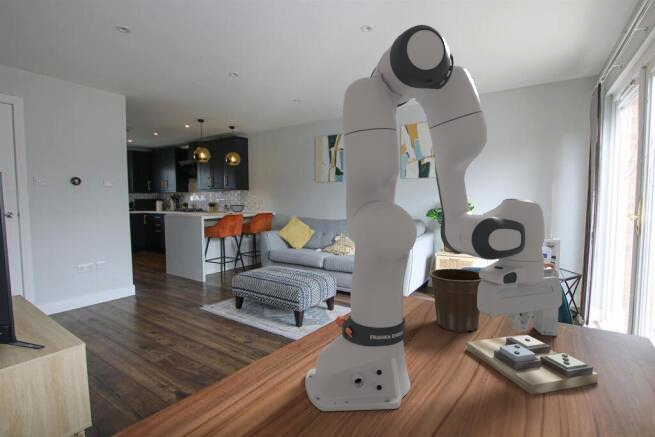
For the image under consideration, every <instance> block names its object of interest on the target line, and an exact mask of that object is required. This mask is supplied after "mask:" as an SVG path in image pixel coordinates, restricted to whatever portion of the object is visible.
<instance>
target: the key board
mask: <svg viewBox="0 0 655 437" xmlns="http://www.w3.org/2000/svg"><path fill="white" fill-rule="evenodd" d="M524 335H525V334H524ZM524 335H522V334H518V335H512V336H511V335H510V336H502V337H495V338H488V339H487V338H486V339H480V340H479V339H478V340H471V341H466V350H467V351H468V352H469V353H471V354H473V355H474V356H475V357H477V358H478V359H480V360H481V361H482V362H484V363H485V364H487V365H489V366H490V367H491V368H493V369H494V370H496V371H497V372H498V373H501V375H502V376H504V377H506V378H508V379H509V381H512V382H513V383H514V384H515V385H517V386H519V387H520V388H522V389H523V390H525V391H526V392H527V393H529V394H530V395H532V396H533V395H537V394H538V395H539V394H544V393H548V392H554V391H559V390H566V389H570V388H576V387H581V386H588V385H592V384H598V383H599V382H598V380H599V379H598V378H599V374H598V372H596V371H593V370H594V366H592V365H589V364H587V363H585V364H586V367H581V368H575V369H569V370H567V369H565V368H564V367H562V366H560V365H558V364H556V363H554V362H552V361H551V360H549V359H547V358H546V356H548V355H555V354H561V353H562V352H559V353H557V352H556V351H554V350H552V349H551V345H549V344H547V343H545V346H539V347H532V348H527V347H525V346H523V345H521V344H519V343H517V342H515V341H514V340H512V339H511V337H516V336H524ZM527 335H528V334H527ZM528 336H530V337H532V336H531V335H528ZM532 338H534V337H532ZM534 339H536V340H538V339H537V338H534ZM538 341H540V340H538ZM514 344H518V345H520V346H522V347H524V348H526V349H528V350H529V351H531V352H533V353H535V360H531V361H525V362H518V363H516V362H515V361H513V360H511V359H510V358H508V357H507V356H505V355H503V354H502V353H500V346H506V345H514Z"/></svg>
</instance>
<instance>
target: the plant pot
mask: <svg viewBox="0 0 655 437" xmlns="http://www.w3.org/2000/svg"><path fill="white" fill-rule="evenodd" d="M429 276H430V277H431V278H430V279H431V286H432V287H433V297H434V307H435V316H436V317H435V319H436V324H437V325H438V326H440V327H441V328H442V329H445V330H448V331H452V332H457V333H458V332H459V333H460V332H462V333H467V332H468V331H470V332H474V331H476V330H478V328H479V325H480V314H481V312H480V311H479V310H478V307H477V293H478V286H479V283H480V282H481V281H482V280H483V279H482V278H480V277H479V271H476V270H471V269H464V268H463V269H462V268H438V269H433V270H431V271H429Z"/></svg>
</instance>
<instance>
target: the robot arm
mask: <svg viewBox="0 0 655 437" xmlns="http://www.w3.org/2000/svg"><path fill="white" fill-rule="evenodd" d="M454 64H455V63H454V56H453V54H452V52H450V49H449V46H448V43H447V41H446V40H445V38H444V36H442V34H441V33H440V32H439V31H438V30H437V29H436V28H434V27H432V26H430V25H427V24H418V25H415V26H414V25H413V26H411V27H409V28H408V29H406V30H404V31H403V32H401V34H399V35H398V36H397V37H396V38H395V40H394V41H393V43H392V44H391V45H390V47H388V49H387V50H386V51H385V52H384V53H383V54H382V56H381V58H380V59H379V61H378V63H377V64H376V66H375V67H374V68H373V70H372V72H371V74H370V76H369V77H368V76H367V77H361V78H359V79H357V80H355V81H353V82H352V83H350V84H349V86H347V87H346V90H345V92H344V97H343V106H342V137H343V149H344V150H343V151H344V163H345V179H346V180H345V219H346V221H345V223H346V231H347V232H346V233H347V235H348V236H349V239H350V240H351V242H352V243H354V258H353V260H354V261H353V268H352V276H351V279H350V314H349V316H348V318H346V319H345V317H344V316H342V315H338V316H336V318H335V323H336V325H337V326H338V327H339V328H341V334H339V336H337V338H335V339H334V340H333V341H331V342H329V343H328V344H327V345H326V346H325V347H324V348H322V349H320V351H319V353H318V355H317V358H316V364H315V367H314V368H310V369H309V370H308V371H307V373H306V374H305V380H304V387H305V392H306V394H307V395H306V396H307V397H308V399H309V401H310V402H311V403H312V405H314V406H315V407H316V408H317V409H318V410H320V411H322V412H336V411H337V412H338V411H339V412H341V411H366V410H367V411H371V410H394V409H399V408H400V406H401V404H402V400H403V397H404V396H405V397H406V395H407V394H408V393H409V392H410V389H411V386H412V385H411V380H410V377H409V373H408V369H407V364H406V356H405V345H404V344H405V341H406V319H405V317H404V284H405V276H406V272H407V266H408V262H409V258H410V251H411V250H412V249H413V247H414V245H415V244H416V240H417V234H418V232H417V231H418V230H417V229H418V228H417V224H416V222H415V220H414V218H413V217H412V216H411V214H410V213H409V212H408V211H407V210H405V209H404V208H403V207H402V206H401V205H399V204H396V203H395V200H396V199H395V198H396V189H397V182H398V178H399V174H400V154H399V153H400V151H399V140H398V138H399V137H398V127H397V126H398V125H397V117H396V116H397V109H398V108H399V107H401V106H402V107H403V105H406V104H407V103H408V102H409V101H410V100H412V99H415V100H414V101H416V102H417V103H418V104H419V106H420V107H421V108H422V110H423V112H424V114H425V118H426V124H427V126H428V131H429V134H430V139H431V144H432V149H433V156H434V172H435V180H436V185H437V191H438V196H439V203H440V208H441V209H440V210H441V223H440V232H439V233H440V238H441V242H442V244H443V245H444V246H445V247H446V249H448V250H449V251H450V252H453V253H456V254H462V255H468V256H470V257H474V258H478V259H482V260H488V261H489V260H490V261H491V260H496V261H494V262H493V263H491V264H489V265H487V266H485V267H483V268H480V270H479V271H478V272H479V277H480V278H482V279H483V280H482V281H481V282H480V283H479V286H478V293H477V307H478V310H479V311H480V314H482V315H484V316H486V317H489V318H494V317H502V316H507V317H508V319H509V320H510V322H511V329H512V331H514V332H516V333H519V332H526V331H529V328H530V326H529V325H530V322H531V321H532V319H533V318H534V311H539V310H547V309H554V308H558V309H559V308H561V306H562V304H563V292H562V285H561V281H560V279H559V276H560V275H559V272H558V271H557V270H556V269H554V267H546V268H545V255H544V252H543V244H544V243H545V238H546V237H545V235H546V234H545V233H546V232H545V228H546V227H545V217H544V211H543V209H542V207H541V204H539V203H538V202H536V201H534V200H530V199H525V198H524V199H523V198H505V199H503V200H502V201H501V202H500V204H498V205H497V206H496V207H494V208H493V209H491V210H488V211H487V212H484V213H482V214H474V213H473V211H472V210H471V209H470V207H469V202H468V201H469V200H468V196H467V195H468V194H467V189H466V182H465V181H466V180H465V175H466V172H467V169H468V168H469V166H470V165H471V163H472V162H473V161H475V159H476V158H477V157H479V155H480V154H481V153H482V152H483V150H484V148H485V147H486V145H487V141H488V125H487V120H486V117H485V113H484V110H483V106H482V105H483V104H482V102H481V99H480V96H479V93H478V90H477V88H476V86H475V84H474V81H473V79H472V77H471V75H470V73H469V71H468V70H467V69H466V68H464V67H463V66H460V65H454ZM520 314H521V315H520ZM519 318H520V319H519Z"/></svg>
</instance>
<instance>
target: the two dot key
mask: <svg viewBox="0 0 655 437" xmlns="http://www.w3.org/2000/svg"><path fill="white" fill-rule="evenodd" d="M500 353H502V354H503V355H505V356H507V357H508V358H510V359H511V360H513V361H515V362H516V363H518V362H525V361H531V360H535V353H533V352H531V351H529V350H528V349H526V348H524V347H522V346H520V345H518V344H514V345H506V346H500Z"/></svg>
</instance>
